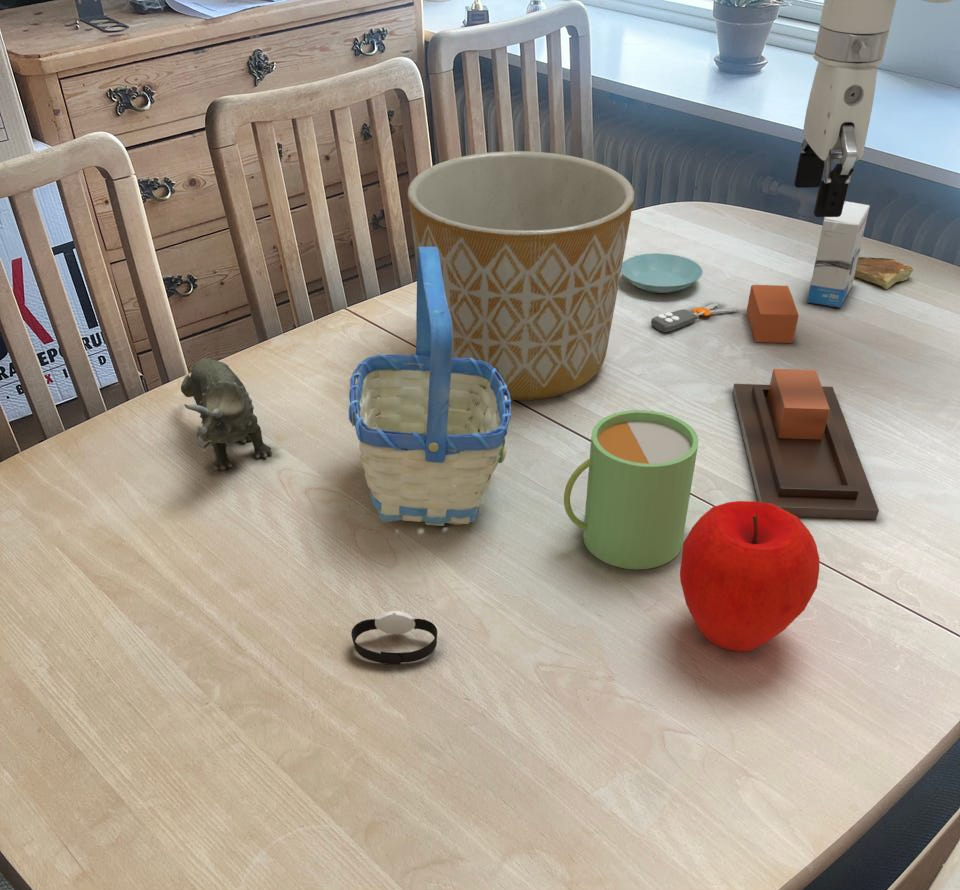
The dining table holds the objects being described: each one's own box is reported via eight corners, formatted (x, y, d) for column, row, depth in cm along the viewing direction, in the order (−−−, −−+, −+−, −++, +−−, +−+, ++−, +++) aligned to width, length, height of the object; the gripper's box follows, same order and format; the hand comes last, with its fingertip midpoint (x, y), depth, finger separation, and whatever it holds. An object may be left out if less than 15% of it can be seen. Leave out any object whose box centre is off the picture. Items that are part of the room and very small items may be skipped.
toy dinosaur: (184, 404, 127) (165, 317, 119) (253, 394, 129) (239, 307, 121) (205, 505, 112) (185, 412, 104) (284, 491, 114) (270, 399, 106)
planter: (624, 325, 143) (641, 157, 128) (608, 423, 124) (625, 240, 109) (438, 310, 146) (433, 144, 131) (394, 403, 127) (383, 223, 113)
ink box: (839, 309, 146) (860, 225, 138) (803, 302, 148) (822, 219, 140) (852, 286, 152) (873, 203, 144) (817, 279, 154) (836, 198, 146)
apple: (800, 603, 100) (832, 486, 91) (799, 688, 91) (834, 569, 82) (675, 585, 102) (694, 469, 93) (663, 667, 93) (683, 548, 84)
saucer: (602, 283, 153) (603, 267, 151) (654, 260, 159) (656, 245, 157) (664, 309, 146) (666, 293, 145) (716, 284, 152) (719, 269, 151)
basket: (517, 542, 107) (523, 326, 91) (356, 548, 106) (335, 332, 90) (500, 434, 122) (503, 233, 106) (359, 439, 121) (341, 237, 105)
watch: (438, 632, 97) (437, 602, 94) (437, 667, 93) (436, 637, 91) (354, 633, 97) (351, 603, 94) (351, 668, 93) (348, 638, 91)
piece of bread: (822, 266, 157) (825, 254, 156) (854, 253, 161) (857, 242, 159) (884, 290, 151) (887, 278, 150) (915, 277, 154) (918, 265, 153)
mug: (663, 503, 112) (678, 403, 104) (695, 563, 104) (713, 461, 96) (549, 515, 110) (554, 415, 102) (572, 577, 103) (580, 474, 95)
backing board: (732, 392, 129) (739, 353, 126) (830, 395, 129) (840, 356, 125) (761, 515, 110) (770, 474, 107) (876, 519, 110) (889, 478, 106)
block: (746, 312, 146) (751, 284, 143) (782, 313, 146) (788, 285, 143) (754, 342, 139) (760, 313, 136) (792, 343, 139) (799, 315, 136)
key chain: (666, 335, 141) (668, 325, 140) (648, 325, 143) (649, 315, 142) (737, 312, 146) (739, 302, 145) (719, 302, 148) (720, 292, 147)
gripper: (908, 66, 111) (867, 228, 122) (861, 26, 123) (828, 176, 135) (837, 66, 111) (803, 228, 122) (798, 26, 123) (770, 176, 135)
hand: (816, 201), depth 129 cm, fingers open, 9 cm apart
